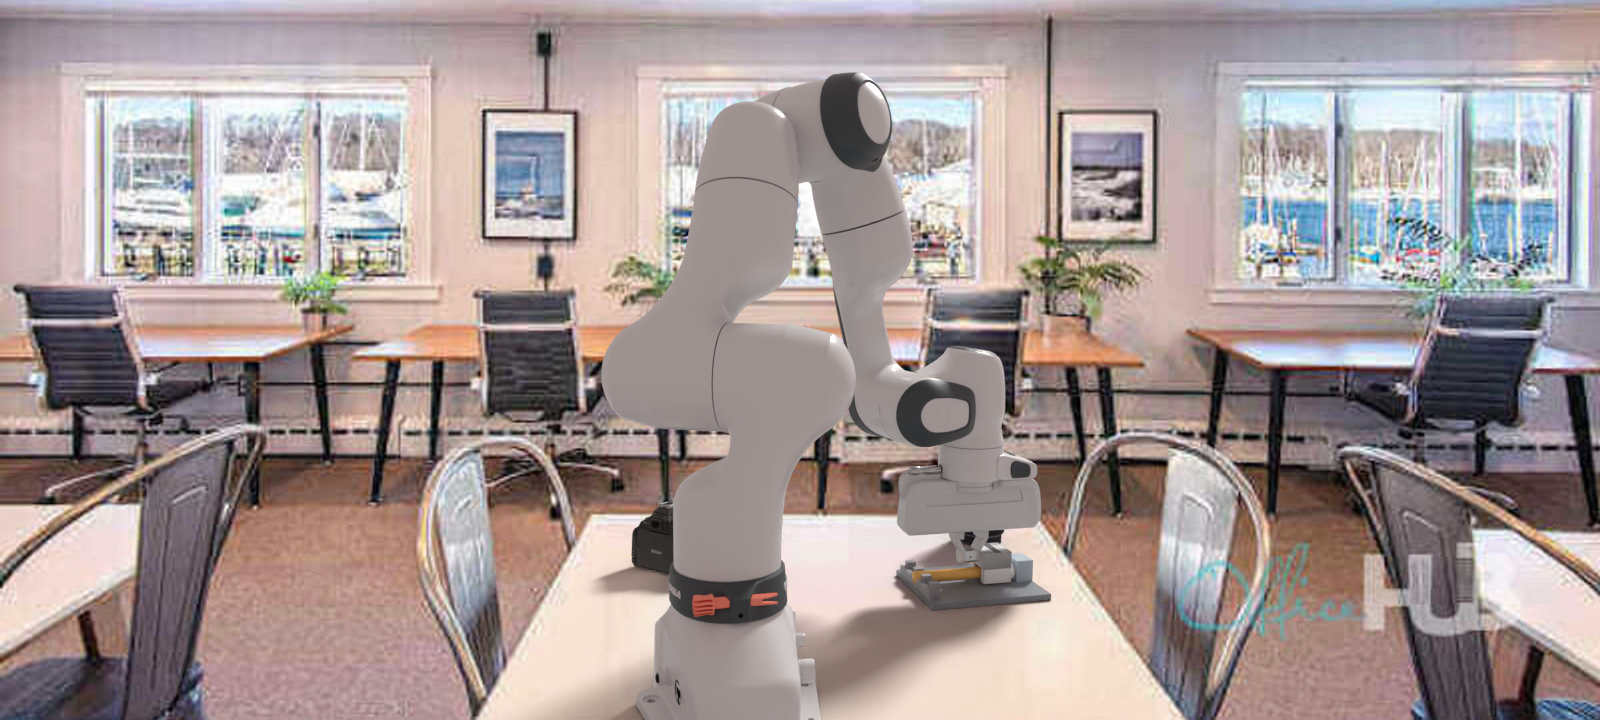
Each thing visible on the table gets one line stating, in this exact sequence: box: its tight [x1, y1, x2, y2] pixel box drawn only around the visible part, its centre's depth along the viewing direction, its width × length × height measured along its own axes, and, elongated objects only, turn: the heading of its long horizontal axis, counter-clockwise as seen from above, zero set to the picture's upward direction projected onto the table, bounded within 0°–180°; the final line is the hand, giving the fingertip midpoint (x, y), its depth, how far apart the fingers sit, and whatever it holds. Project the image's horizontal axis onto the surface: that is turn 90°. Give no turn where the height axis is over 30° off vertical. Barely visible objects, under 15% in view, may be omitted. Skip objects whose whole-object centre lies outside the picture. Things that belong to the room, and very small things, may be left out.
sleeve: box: [970, 543, 1013, 584], centre depth 132 cm, size 4×4×4 cm
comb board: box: [895, 552, 1052, 611], centre depth 131 cm, size 14×17×4 cm
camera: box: [631, 501, 674, 575], centre depth 138 cm, size 13×10×10 cm
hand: (967, 561), depth 131 cm, fingers closed
